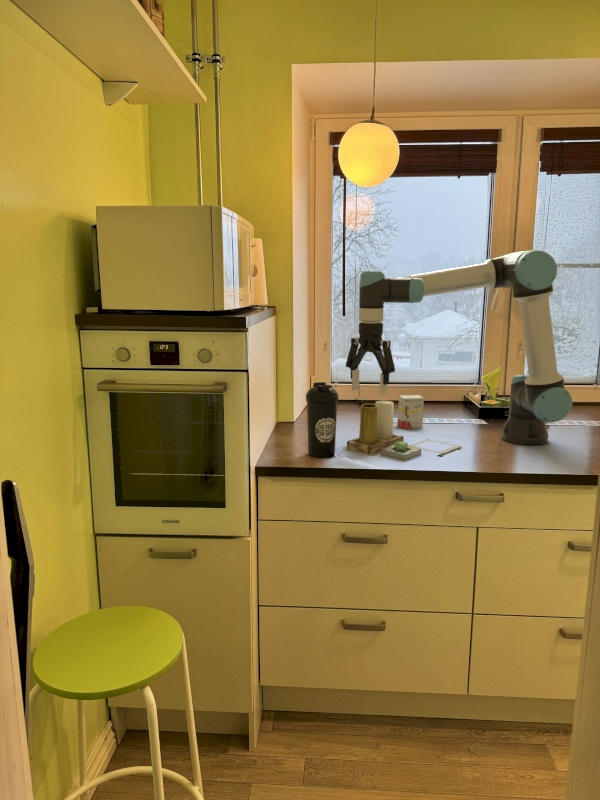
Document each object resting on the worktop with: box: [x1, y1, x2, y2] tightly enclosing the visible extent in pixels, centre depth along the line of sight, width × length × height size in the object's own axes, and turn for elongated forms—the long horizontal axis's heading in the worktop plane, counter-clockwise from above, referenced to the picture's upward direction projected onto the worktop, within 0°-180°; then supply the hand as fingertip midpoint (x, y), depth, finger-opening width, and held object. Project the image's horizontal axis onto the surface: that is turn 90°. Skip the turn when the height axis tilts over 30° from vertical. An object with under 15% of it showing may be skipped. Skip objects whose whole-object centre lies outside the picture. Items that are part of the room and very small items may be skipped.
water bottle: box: [305, 381, 339, 460], centre depth 186 cm, size 10×10×23 cm
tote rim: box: [408, 438, 462, 458], centre depth 194 cm, size 13×12×1 cm
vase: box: [358, 403, 377, 446], centre depth 189 cm, size 6×6×14 cm
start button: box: [395, 441, 409, 451], centre depth 184 cm, size 4×4×2 cm
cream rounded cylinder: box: [374, 400, 395, 440], centre depth 195 cm, size 6×6×14 cm
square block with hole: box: [380, 444, 422, 462], centre depth 184 cm, size 9×9×3 cm
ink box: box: [397, 394, 425, 429], centre depth 223 cm, size 9×5×12 cm, turn 99°
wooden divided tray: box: [342, 433, 404, 457], centre depth 194 cm, size 13×19×4 cm
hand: (369, 392), depth 187 cm, fingers open, 10 cm apart
